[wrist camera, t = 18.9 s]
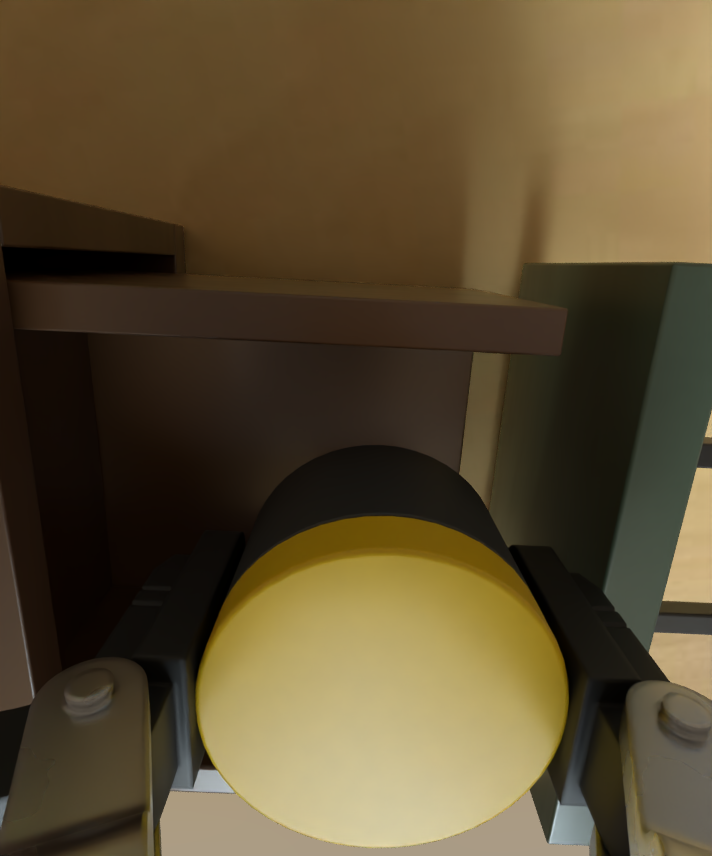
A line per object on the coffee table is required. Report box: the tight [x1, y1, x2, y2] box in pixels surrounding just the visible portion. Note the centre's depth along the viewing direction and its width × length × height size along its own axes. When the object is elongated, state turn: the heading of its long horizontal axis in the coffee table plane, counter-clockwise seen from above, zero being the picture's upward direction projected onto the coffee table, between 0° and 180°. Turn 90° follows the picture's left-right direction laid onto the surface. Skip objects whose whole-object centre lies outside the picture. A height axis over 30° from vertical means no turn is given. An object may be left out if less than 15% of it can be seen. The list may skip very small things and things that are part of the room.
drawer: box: [5, 262, 712, 846], centre depth 14 cm, size 20×13×8 cm, turn 87°
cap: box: [195, 445, 569, 848], centre depth 9 cm, size 5×5×4 cm
